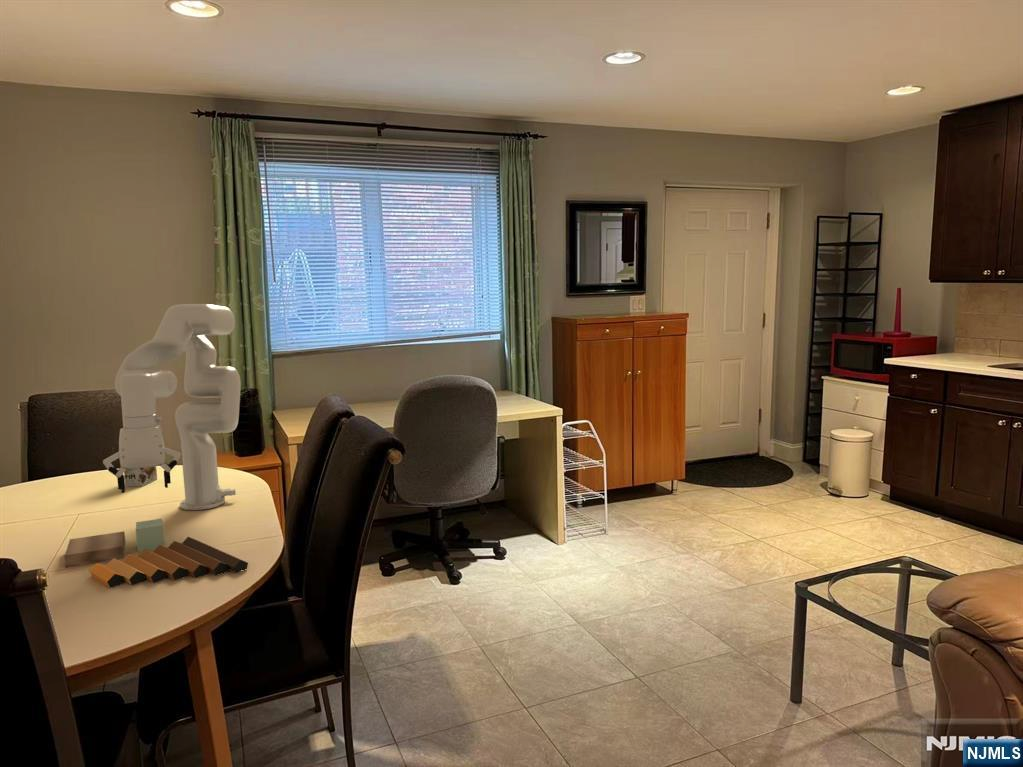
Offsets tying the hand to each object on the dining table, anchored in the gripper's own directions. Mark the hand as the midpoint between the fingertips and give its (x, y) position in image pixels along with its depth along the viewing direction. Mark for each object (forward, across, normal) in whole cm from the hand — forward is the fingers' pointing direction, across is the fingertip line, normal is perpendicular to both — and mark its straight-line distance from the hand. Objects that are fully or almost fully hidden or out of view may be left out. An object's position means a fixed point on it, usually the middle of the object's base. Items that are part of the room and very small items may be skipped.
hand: (145, 489), depth 176 cm
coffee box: (+14, +3, -68) cm, 69 cm away
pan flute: (+16, -4, +20) cm, 27 cm away
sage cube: (+15, 0, -1) cm, 15 cm away
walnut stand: (+15, +12, -1) cm, 19 cm away
